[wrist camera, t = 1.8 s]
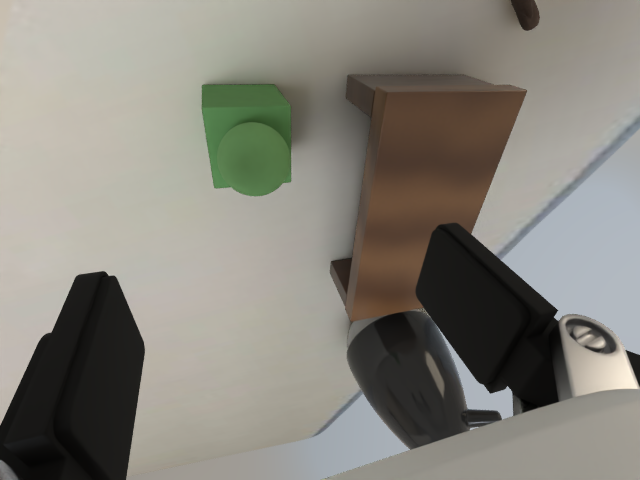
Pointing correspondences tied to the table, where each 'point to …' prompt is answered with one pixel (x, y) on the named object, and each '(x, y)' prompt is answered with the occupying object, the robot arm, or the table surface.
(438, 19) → the table surface
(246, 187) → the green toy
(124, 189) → the table surface
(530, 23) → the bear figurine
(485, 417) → the pump dispenser
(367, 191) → the bench
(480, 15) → the table surface
